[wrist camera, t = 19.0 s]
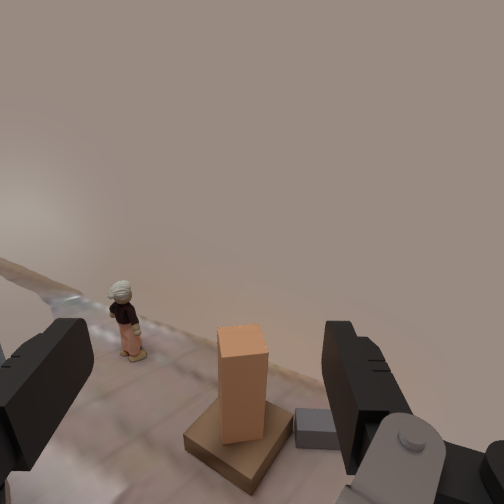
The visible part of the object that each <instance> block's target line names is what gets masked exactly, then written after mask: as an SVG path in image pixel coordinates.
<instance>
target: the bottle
mask: <svg viewBox="0 0 504 504" xmlns="http://www.w3.org/2000/svg"><path fill="white" fill-rule="evenodd" d="M5 361H6V359H5V356H4V354H3V351H2V348H1V345H0V368H1V365H2V364H3V363H4V362H5Z"/></svg>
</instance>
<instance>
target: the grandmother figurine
mask: <svg viewBox="0 0 504 504" xmlns="http://www.w3.org/2000/svg"><path fill="white" fill-rule="evenodd" d="M130 289H131V286H130V283H129V282H128V281H126V280H122V281H118V282H116V283H115V284H114V285H113V286H112V287H111V289H110V292H109V293H108V298H109V299H113V298H114V300H115V302H114V303H113V304H112V305H111V306H110V308H109V309H110V317H111V318H114V317H115V318H116V321H117V322H118V324H119V327H120V335H121V342H122V348H123V349H122V350H121V352H120V355H122V356H127V355H129V354H130V356H129V361H130V362H135V361H138V360H141V359H144V358H145V357H146V356H147V353H146V351H145V350H142V349H140V347H141V346H142V341H141V338H140V335H141V330H140V326H139V320H138V318H137V316H136V312H135V308H134V307H133V306H132V305H131V304H130V303H129V301H130V300H131V298H132V292H131V290H130Z"/></svg>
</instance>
